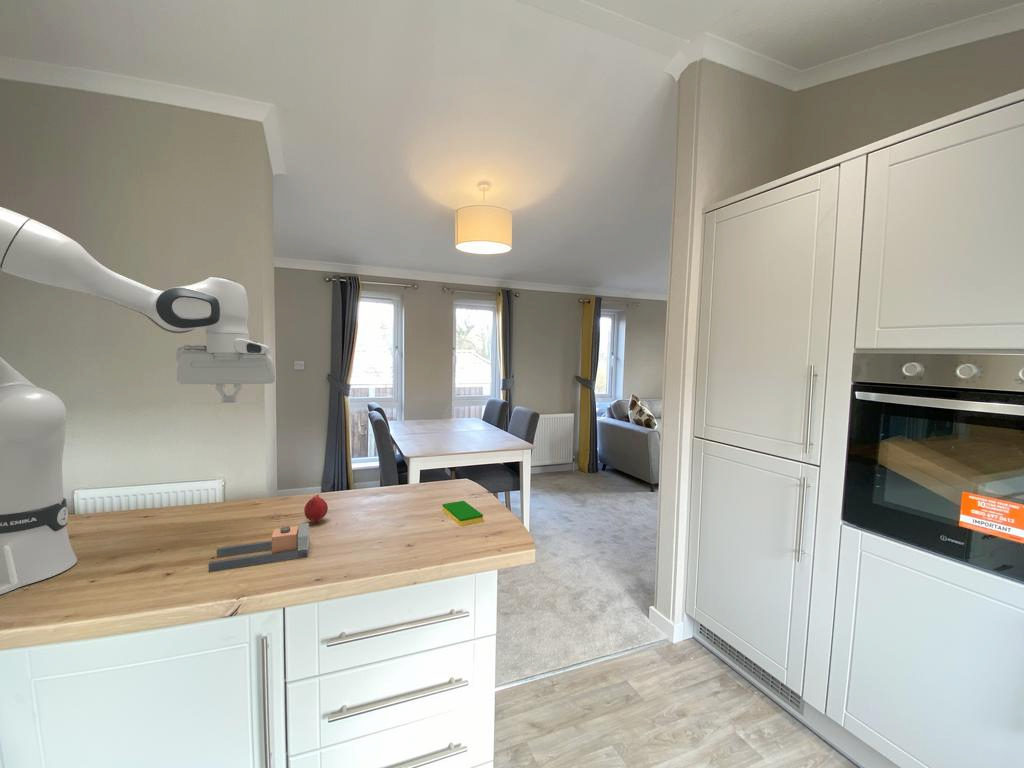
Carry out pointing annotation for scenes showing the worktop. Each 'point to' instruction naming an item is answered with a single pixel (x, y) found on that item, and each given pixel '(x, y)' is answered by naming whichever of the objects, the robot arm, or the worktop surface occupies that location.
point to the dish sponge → (462, 513)
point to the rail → (261, 558)
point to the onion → (315, 509)
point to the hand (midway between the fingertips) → (229, 402)
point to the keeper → (285, 539)
